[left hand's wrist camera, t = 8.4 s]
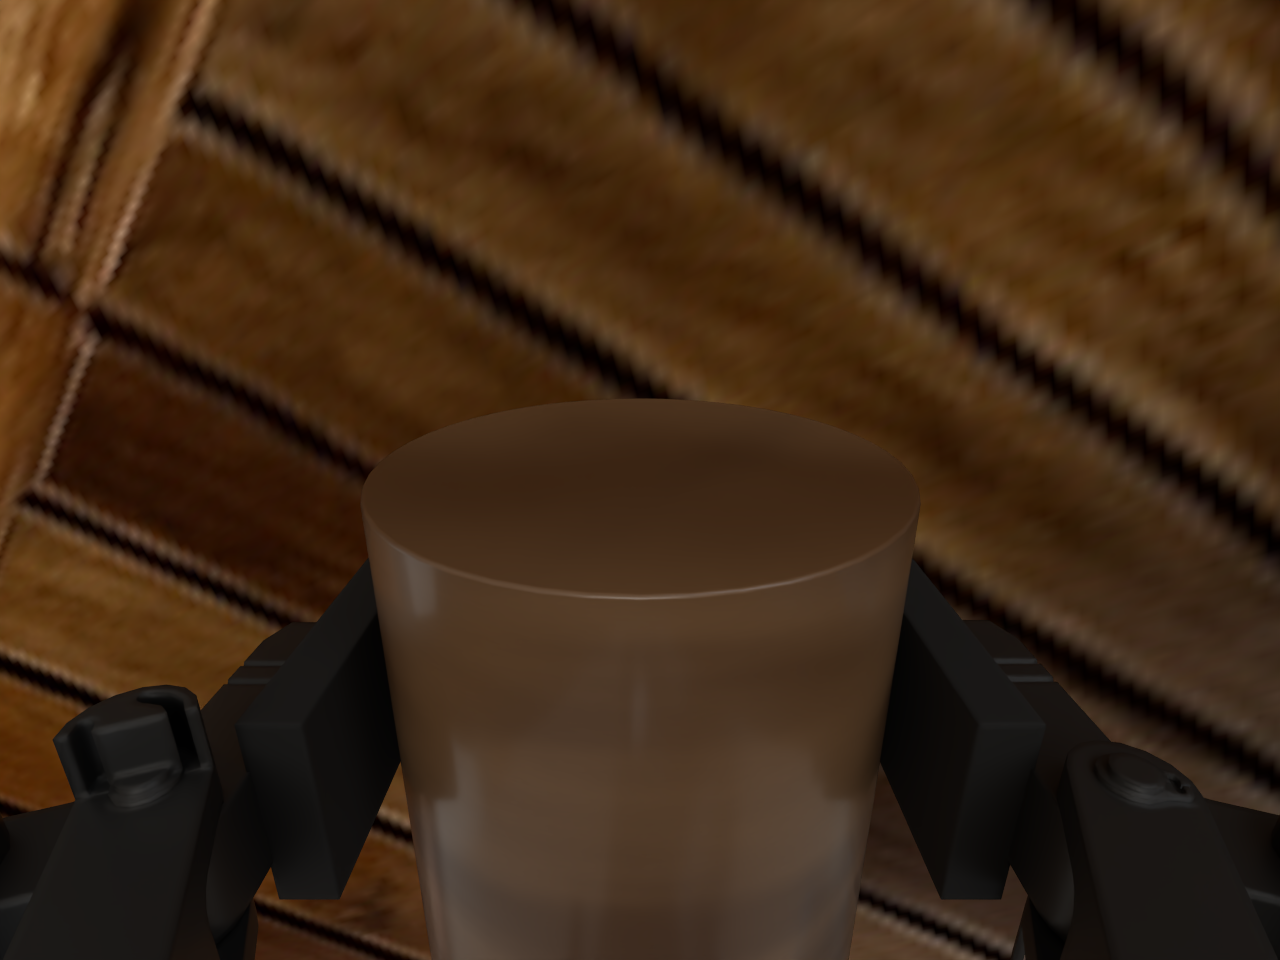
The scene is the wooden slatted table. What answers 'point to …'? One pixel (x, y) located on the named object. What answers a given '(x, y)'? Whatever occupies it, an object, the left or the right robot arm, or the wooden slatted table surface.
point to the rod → (640, 675)
